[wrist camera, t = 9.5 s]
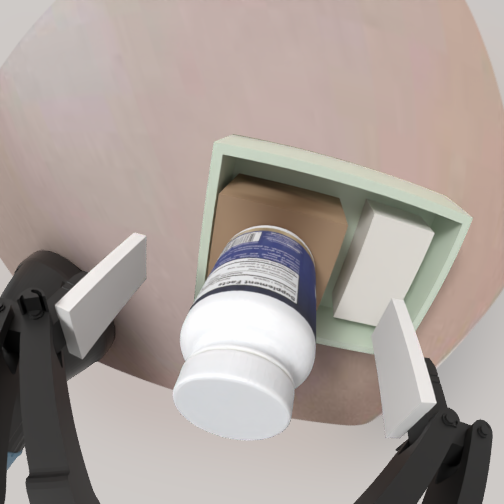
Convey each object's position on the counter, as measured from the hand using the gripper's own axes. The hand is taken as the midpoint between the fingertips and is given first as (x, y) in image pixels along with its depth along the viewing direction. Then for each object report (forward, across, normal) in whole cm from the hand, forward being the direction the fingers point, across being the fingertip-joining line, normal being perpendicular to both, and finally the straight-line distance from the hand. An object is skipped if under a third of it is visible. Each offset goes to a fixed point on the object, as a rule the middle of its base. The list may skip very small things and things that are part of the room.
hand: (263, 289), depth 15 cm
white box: (+7, +8, 0) cm, 11 cm away
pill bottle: (+3, 0, 0) cm, 3 cm away
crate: (+8, +4, 0) cm, 9 cm away
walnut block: (+7, 0, 0) cm, 7 cm away
